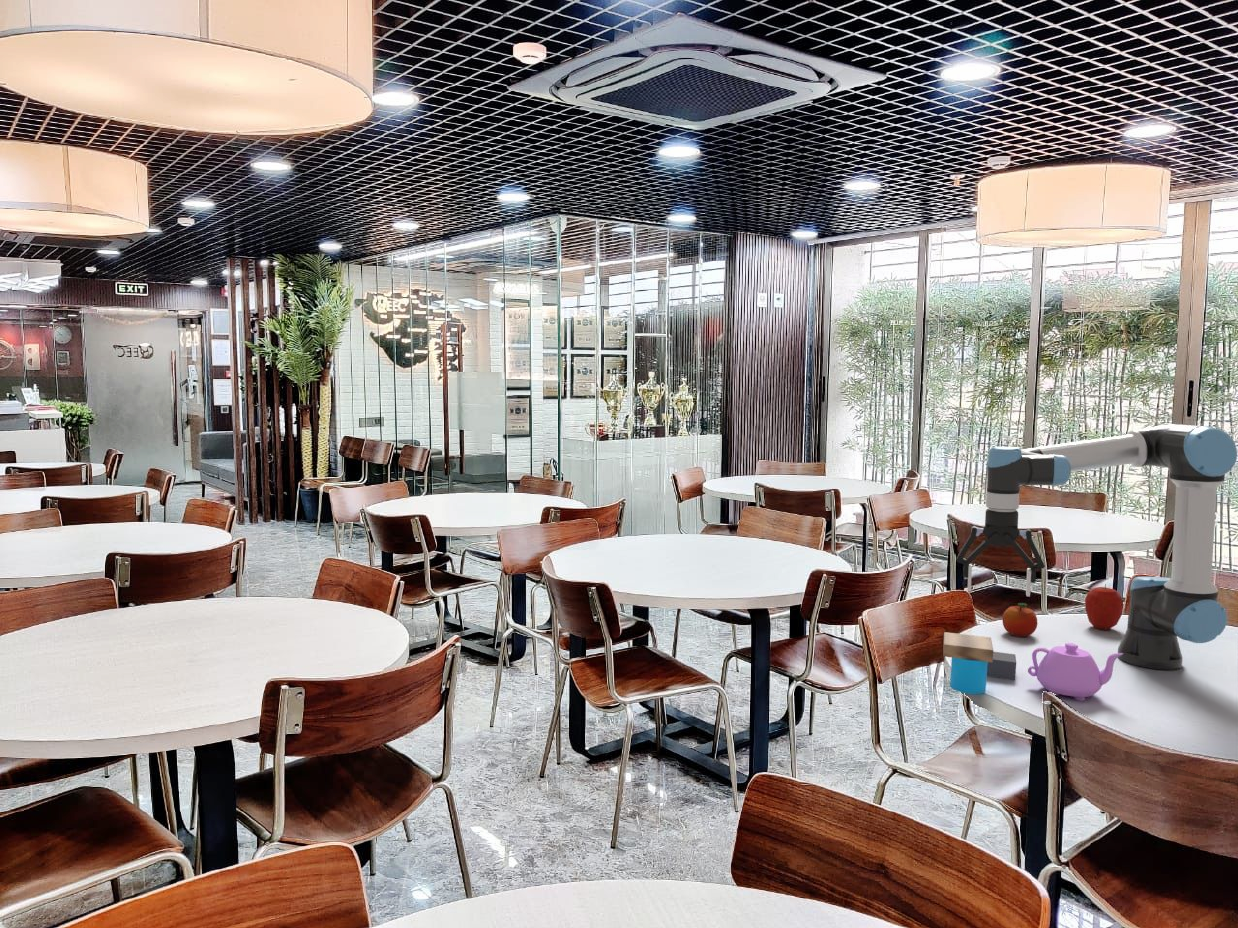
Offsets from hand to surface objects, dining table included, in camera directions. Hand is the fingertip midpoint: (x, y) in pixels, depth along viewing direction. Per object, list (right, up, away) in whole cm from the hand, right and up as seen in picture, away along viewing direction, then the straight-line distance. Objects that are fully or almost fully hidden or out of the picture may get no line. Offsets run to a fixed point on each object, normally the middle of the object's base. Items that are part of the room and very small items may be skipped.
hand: (998, 592), depth 226 cm
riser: (+2, -21, +5) cm, 22 cm away
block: (-10, -14, -5) cm, 18 cm away
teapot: (+14, -23, -8) cm, 29 cm away
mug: (-10, -22, -4) cm, 25 cm away
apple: (+52, -18, +49) cm, 74 cm away
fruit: (+23, -18, +40) cm, 49 cm away
